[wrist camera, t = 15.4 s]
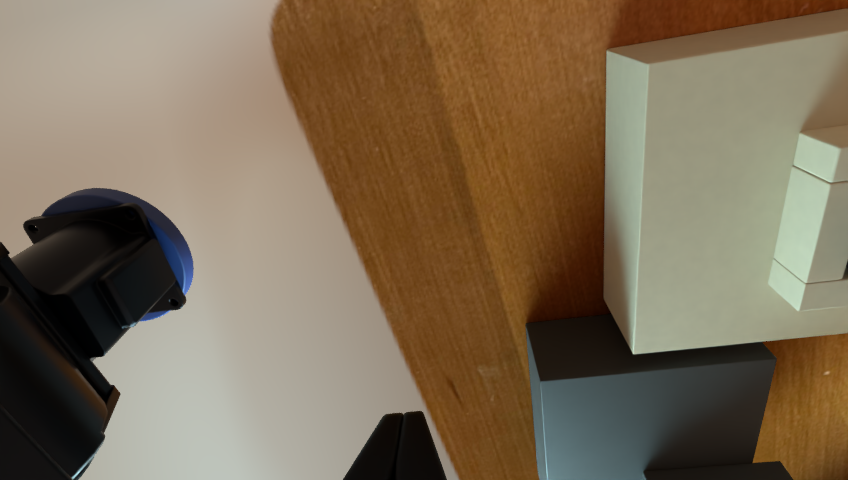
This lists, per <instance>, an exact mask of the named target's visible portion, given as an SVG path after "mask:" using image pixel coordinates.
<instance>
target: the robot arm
mask: <svg viewBox="0 0 848 480" xmlns="http://www.w3.org/2000/svg"><path fill="white" fill-rule="evenodd" d="M129 210H130V211H132V212H133V213H134V214H135V216H134V215H132V214H131V213H130V211H129ZM35 226H36V227H37V228H38V229H37V228H36V227H35ZM23 227H24V230H25V231H26V233H27V235H28V236H29V238H30V239H31V241H32V243H33V244H34V245H32V246H31V247H29V248H27V249H26V250H24V251H22V252H21V253H19V254H17V255H16V256H14V257H13V258H10V257H9V256H8V254H9V251H8V250H7V249H6V248H5V246H4V245H3V244H2V243H1V242H0V480H78V479H79V478H80V477H81V476H82V475H83V473H84V472H85V470H86V469H87V468H88V466H89V465H90V463H91V461H92V459H93V458H94V456H95V454H96V453H97V451H98V450H99V448H100V447H101V445H102V444H103V441H104V439H105V435H104V432H105V429H106V427H107V425H108V422H109V420H110V418H111V415H112V413H113V410H114V408H115V406H116V403H117V401H118V399H119V396H120V392H119V391H118V390H117V389H116V387H115V386H114V385H110V384H109V382H108V381H107V380H106V379H105V377H104V376H103V375H102V373H101V372H100V371H99V370H98V369H97V367H96V366H95V365H94V363H93V362H92V361H93V360H94V359H95V358H96V357H102V356H104V355H105V354H106V353H107V352H108V351H109V350H110V349H111V348H112V347H113V346H114V345H115V343H116V342H117V341H118V340H119V339H120V338H121V337H122V336H123V335H124V334H125V333H126V332H127V331H128V330H129V329H130V328H131V327H134V326H135V325H136V324H137V323H138V322H139V321H140V320H141V319H142V318H143V317H144V316H145V315H146V313H154V312H162V311H170V310H178V309H180V308H182V307H183V305H184V304H185V303H186V297H185V295H184V293H183V291H182V289H181V287H180V285H179V283H178V281H177V279H176V276H175V274H174V272H173V270H172V268H171V266H170V264H169V262H168V260H167V258H166V256H165V254H164V252H163V250H162V247H161V245H160V243H159V242H158V239H157V237H156V235H155V233H154V231H153V229H152V227H151V225H150V223H149V221H148V219H147V217H146V215H145V213H144V211H143V209H142V208H141V207H140V206H139V205H138V204H136V203H124V204H118V205H111V206H105V207H98V208H91V209H85V210H78V211H72V212H65V213H58V214H52V215H45V216H39V217H33V218H31V219H29V220H27V221H25V223H24V224H23ZM174 299H175V300H177V301H178V302H176V301H175V300H174ZM343 480H447V479H446V476H445V473H444V470H443V467H442V464H441V462H440V459H439V456H438V453H437V450H436V447H435V445H434V442H433V439H432V436H431V433H430V430H429V428H428V425H427V422H426V419H425V416H424V414H423V412H422V411H416V412H406V413H405V414H404V415H403V414H402V413H392V414H386V415H384V416H383V417H382V419H381V420H380V422H379V424H378V425H377V427H376V428H375V430H374V432H373V433H372V435H371V436H370V438H369V439H368V441H367V443H366V444H365V446H364V447H363V449H362V450H361V452H360V454H359V455H358V457H357V458H356V460H355V461H354V463H353V465H352V466H351V468H350V469H349V471H348V472H347V474H346V476H345V477H344V479H343Z"/></svg>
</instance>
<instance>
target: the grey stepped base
mask: <svg viewBox="0 0 848 480" xmlns="http://www.w3.org/2000/svg"><path fill="white" fill-rule="evenodd" d="M526 335H527V347H528V359H529V371H530V383H531V395H532V407H533V419H534V431H535V443H536V455H537V467H538V474H539V479H540V480H793V479H792V477H791V476H790V474H789V473H788V472H787V470H786V469H785V468H784V466H783V465H782V463H781V462H780V461H775V462H762V463H752V462H753V458H754V454H755V449H756V445H757V441H758V437H759V432H760V428H761V424H762V420H763V416H764V411H765V407H766V403H767V399H768V394H769V390H770V386H771V382H772V377H773V373H774V369H775V365H776V360H777V358H776V357H775V356H774V355H773V354H772V353H771V351H770V350H769V349H768V348H767V347H766V346H765V345H764V344H763V343H762V342H752V343H742V344H732V345H723V346H713V347H703V348H693V349H683V350H673V351H663V352H653V353H643V354H633V353H632V351H631V349H630V347H629V345H628V344H627V342H626V340H625V338H624V336H623V334H622V332H621V330H620V329H619V327H618V325H617V323H616V321H615V319H614V317H613V315H612V314H607V315H598V316H589V317H580V318H570V319H561V320H552V321H543V322H534V323H526Z"/></svg>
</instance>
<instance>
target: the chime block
mask: <svg viewBox="0 0 848 480" xmlns="http://www.w3.org/2000/svg"><path fill="white" fill-rule="evenodd" d="M847 261H848V8H846V9H840V10H835V11H829V12H823V13H817V14H811V15H805V16H799V17H793V18H787V19H782V20H776V21H770V22H764V23H758V24H752V25H746V26H740V27H734V28H729V29H723V30H717V31H711V32H705V33H699V34H693V35H687V36H681V37H675V38H670V39H664V40H658V41H652V42H646V43H640V44H634V45H628V46H622V47H617V48H611V49H607V56H606V139H605V221H604V300H605V302H606V304H607V306H608V308H609V310H610V312H611V313H612V315H613V317H614V319H615V321H616V323H617V325H618V327H619V329H620V330H621V332H622V334H623V336H624V338H625V340H626V342H627V344H628V345H629V347H630V349H631V351H632V353H633V354H643V353H653V352H663V351H673V350H683V349H693V348H703V347H713V346H723V345H732V344H742V343H752V342H762V341H772V340H782V339H792V338H802V337H812V336H822V335H832V334H842V333H848V268H846V264H847Z"/></svg>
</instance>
